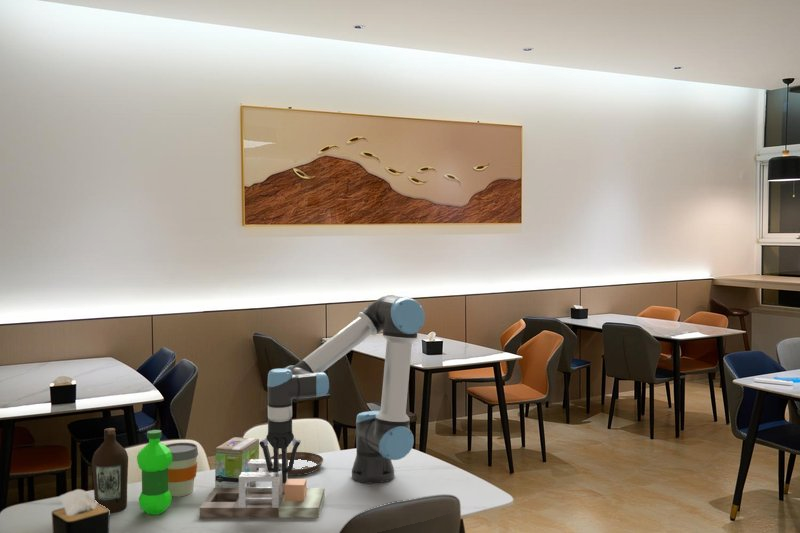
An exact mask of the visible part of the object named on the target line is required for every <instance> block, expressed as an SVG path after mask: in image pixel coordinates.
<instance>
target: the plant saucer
mask: <svg viewBox="0 0 800 533" xmlns="http://www.w3.org/2000/svg"><path fill="white" fill-rule="evenodd" d="M291 453H292V451H291V452H287V461H288V460H290V458H291ZM270 457H271V459H274V455H273V456H270ZM279 459H282V453H279ZM298 459H301V460H307V462H308V461H312V462H314V463H316V464H317V465H316V466H313V467H308V466H305V467H302V468H303V469H302V468H301V469H295V468H292V470H291V471H290V472H288V476H299V475H298V474H302V475H306V474H305V473H307V474H310V473H309V472H311V473H313V472H315V471H317V470H318V469H319V468H320V467H321V465H322V464H323V462H324V457H323V456H321V455H320V454H318V453H313V452H306V451H297V452H296V456H295V460H298ZM279 471H280V468H279ZM312 471H313V472H312Z"/></svg>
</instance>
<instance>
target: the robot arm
mask: <svg viewBox="0 0 800 533" xmlns="http://www.w3.org/2000/svg"><path fill="white" fill-rule="evenodd" d="M425 318H426V316H425V310H424V308H423V307H422V305H421V304H420V302H419V301H417V300H415V299H414V298H411V297H407V296H398V295H397V296H396V295H393V294H391V295H384V296H381V297H379V298H378V299H376V300H375V301H373V302H372V303H370V304H368V306H366V307H365V308H364V309H362V310H361V311H360V312H359V313H358V315H357V318H356V319H354V320H352V321H351V322H350V323H349V324H348V325H346V326H345V327H344V328H342V329H341V330H340V331H338V332H337V333H335V335H333V336H331V337H330V338H329V339H328V340H327V341H325V342H323V344H321V345H320V346H319V347H318V348H316V349H315V350H314V351H312V352H311V353H309V354H308V355H306V357H304V358H303V359H302V360H301V361H299V362H298V363H296V364H295V365H288V366H286V367H284V368H272V369H271V370H269V371H268V373H267V384H266V386H267V418H268V420H267V435H266V437H265V438H264V439H261V440H259V447H260V448H261V449H262V452H263V455H264V459H265V460H266V464H267V468H266V469H267V472H281V478H280V495H282V494H283V492H284V486H283V483H286V481H287V472H290V471H291V470H292V468H293V464H294V460H295V456H296V452H298V451H297V450H298V447H300V445H301V440H300V439H297V438H296V437H295V435H294V433H293V419H292V417H293V399H305V398H314V397H316V398H318V397H322V396H326V395H327V394H328V392H329V390H330V381H329V377H328V375H327V373H325V372H324V371H326V370H328V368H330V367H331V366H333V365H334V364H335V363H336V362H338V360H339V361H340V360H341V359H342V358H343V357H344V356H345V355H347V354H348V353H350V352H351V351H352V350H353V349H354V348H356V347H357V346H359V345H360V344H361V343H362V342H364V341H365V340H367V339H368V338H369V337H370V336H376V335H377V334H379V333H380V332H382V336H383V338H384V339H385V340H386V343H385V344H386V346H385V355H384V356H385V358H384V368H383V378H382V391H381V400H380V401H381V403H380V410H370V411H363V412H359V413H358V414H357V415H356V420H355V421H356V422H355V427H356V428H355V433H356V434H355V438H356V442H355V443H356V444H355V445H356V453H355V454H356V455H355V459H354V462H353V464H352V468H351V478H352V479H353V480H355V481H356V482H360V483H365V484H377V483H384V482H389V481H391V480H393V479H394V478H395V468H394V464H393V463H392V462H393V461H398V460H402V459H403V458H405V457H406V456H408V455H409V454H410V453H411V451H412V449H413V447H414V441H415V439H414V438H415V437H414V434H413V433H412V430H411V429H410V423H411V422H410V421H411V420H410V417H409V416H408V415H407V404H408V403H407V402H408V401H407V400H408V392H409V382H410V381H409V380H410V369H411V357H412V346H413V343H414V341H416V340H417V339H418V332H419V331H420V330H421V328H423V326H424V324H425ZM290 444H292V446H293V447H292V450H291V452H292V453H291V458H290V462H289V466H288V467H287V453H288V447H289V446H290ZM268 445H270V446H271V447H272V449H273V450H272V451H273V452H272V453H273V456H274V467H273V464H272V461H271V457H272V456H271V453H270V450H269V446H268ZM280 450H281V454H282V471H279V454H280ZM392 460H393V461H392Z"/></svg>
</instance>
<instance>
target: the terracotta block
mask: <svg viewBox="0 0 800 533" xmlns="http://www.w3.org/2000/svg"><path fill="white" fill-rule="evenodd" d="M307 488H308V487H307V478H288V479H287V481H286V483H285V501H304V500H305V497H306V494H307Z"/></svg>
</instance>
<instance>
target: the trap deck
mask: <svg viewBox="0 0 800 533" xmlns="http://www.w3.org/2000/svg"><path fill="white" fill-rule="evenodd" d="M306 488H307V494H306V497H305V500H304V501H285V493H283V494H282V495H280V498H281V504H280V506H279V508H272V504H247V506H246V508H239V488H215V487H214V488H213V489H212V490H211V492H209V494H208V496H207V497H206V498H205V500H204V501H203V502H202V503H201V505H200V506H199V518H202V519H203V518H210V519H211V518H213V519H216V518H222V519H223V518H225V519H226V518H229V519H230V518H237V519H238V518H250V519H251V518H256V519H257V518H259V519H260V518H319V517H320V513H321V510H322V508H323V507H322V506H323V503H324V500H325V487H306ZM247 498H272V493H248V487H247Z"/></svg>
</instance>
